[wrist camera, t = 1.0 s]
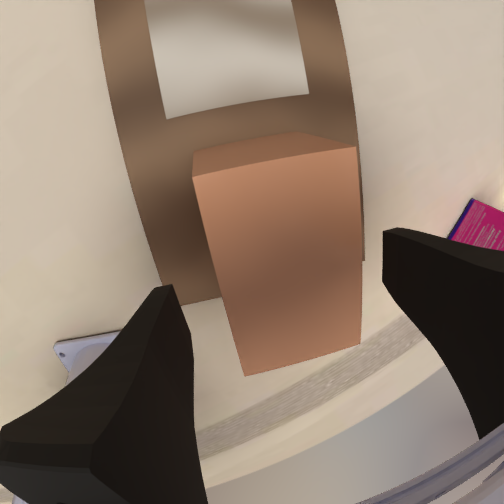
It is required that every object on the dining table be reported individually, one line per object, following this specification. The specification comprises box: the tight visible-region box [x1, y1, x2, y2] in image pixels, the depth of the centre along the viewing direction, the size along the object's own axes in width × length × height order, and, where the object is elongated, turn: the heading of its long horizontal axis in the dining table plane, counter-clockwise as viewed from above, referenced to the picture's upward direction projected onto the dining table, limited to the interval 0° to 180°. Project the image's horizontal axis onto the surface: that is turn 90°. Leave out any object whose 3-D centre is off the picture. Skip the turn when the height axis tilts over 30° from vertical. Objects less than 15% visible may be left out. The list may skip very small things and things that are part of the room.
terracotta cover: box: [192, 131, 362, 376], centre depth 15 cm, size 9×6×7 cm, turn 10°
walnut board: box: [94, 0, 365, 306], centre depth 16 cm, size 23×13×1 cm, turn 10°
